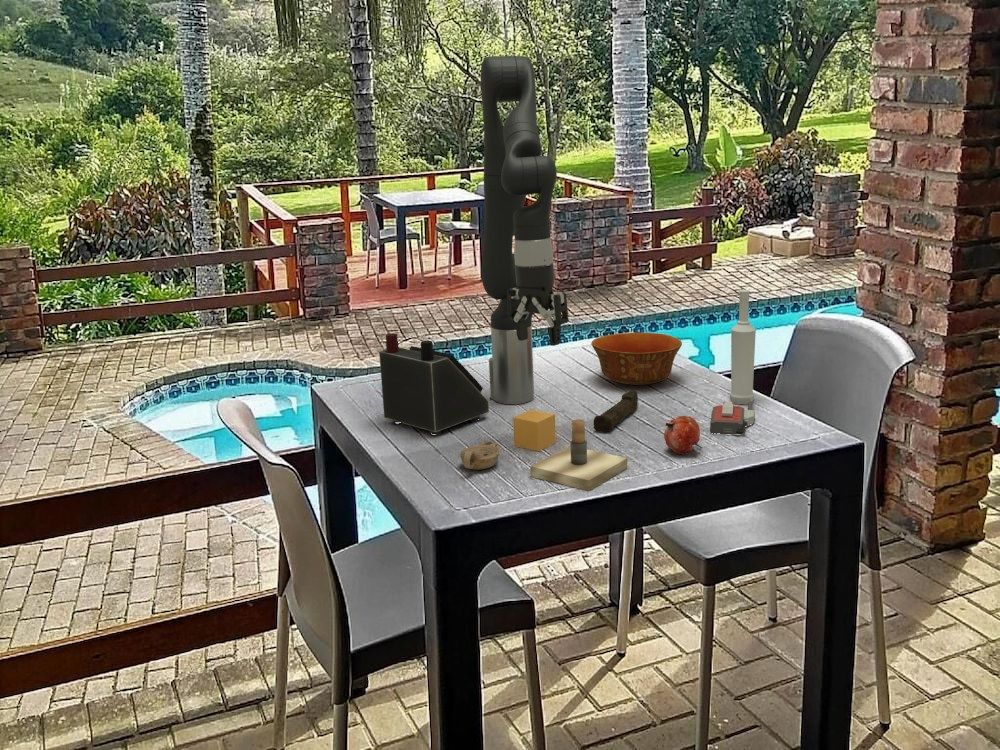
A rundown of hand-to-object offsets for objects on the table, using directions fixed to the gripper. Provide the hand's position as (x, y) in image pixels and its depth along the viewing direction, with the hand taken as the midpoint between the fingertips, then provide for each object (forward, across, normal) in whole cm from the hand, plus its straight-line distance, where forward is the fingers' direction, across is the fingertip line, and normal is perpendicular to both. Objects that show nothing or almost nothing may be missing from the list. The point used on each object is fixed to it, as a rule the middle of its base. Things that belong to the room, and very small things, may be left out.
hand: (538, 342), depth 209 cm
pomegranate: (+22, +26, +12) cm, 36 cm away
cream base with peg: (+21, +17, -9) cm, 28 cm away
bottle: (+22, +18, +45) cm, 53 cm away
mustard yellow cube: (+20, 0, -3) cm, 21 cm away
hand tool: (+21, +3, +20) cm, 29 cm away
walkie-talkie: (+22, +23, +33) cm, 46 cm away
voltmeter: (+20, -27, -5) cm, 34 cm away
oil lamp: (+21, 0, -18) cm, 28 cm away
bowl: (+21, -10, +44) cm, 50 cm away
